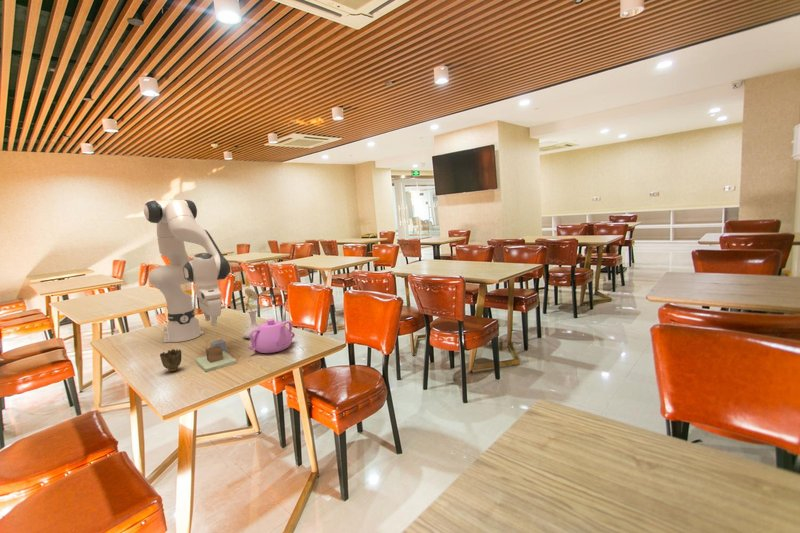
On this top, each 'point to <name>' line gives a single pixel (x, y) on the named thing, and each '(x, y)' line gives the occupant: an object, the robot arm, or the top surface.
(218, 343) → the slate block
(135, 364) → the top surface
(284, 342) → the teapot
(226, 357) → the base plate
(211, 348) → the walnut block
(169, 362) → the dark brown round piece
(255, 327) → the flower in vase
